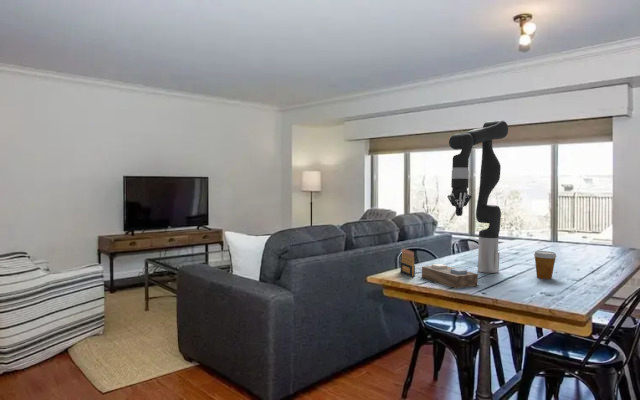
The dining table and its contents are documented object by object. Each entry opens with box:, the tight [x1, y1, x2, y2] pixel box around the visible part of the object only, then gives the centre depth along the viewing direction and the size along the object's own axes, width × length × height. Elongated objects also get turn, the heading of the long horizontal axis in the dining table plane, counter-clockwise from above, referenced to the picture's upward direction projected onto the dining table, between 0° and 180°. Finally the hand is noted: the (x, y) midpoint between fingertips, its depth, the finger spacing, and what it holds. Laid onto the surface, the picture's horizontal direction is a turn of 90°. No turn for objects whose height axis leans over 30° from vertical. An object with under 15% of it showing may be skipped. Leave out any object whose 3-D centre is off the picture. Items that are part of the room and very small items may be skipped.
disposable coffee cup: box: [533, 250, 557, 280], centre depth 205 cm, size 10×10×12 cm
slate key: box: [451, 267, 468, 275], centre depth 189 cm, size 5×5×4 cm
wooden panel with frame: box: [399, 247, 416, 278], centre depth 208 cm, size 11×2×12 cm, turn 18°
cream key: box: [431, 263, 448, 269], centre depth 200 cm, size 5×5×4 cm
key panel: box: [421, 265, 479, 289], centre depth 195 cm, size 12×22×5 cm, turn 27°
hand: (459, 215), depth 200 cm, fingers closed
